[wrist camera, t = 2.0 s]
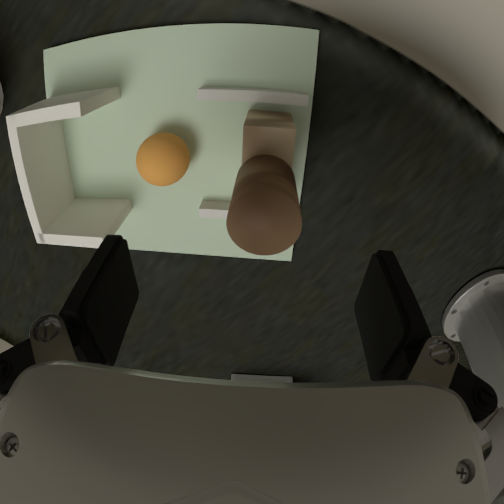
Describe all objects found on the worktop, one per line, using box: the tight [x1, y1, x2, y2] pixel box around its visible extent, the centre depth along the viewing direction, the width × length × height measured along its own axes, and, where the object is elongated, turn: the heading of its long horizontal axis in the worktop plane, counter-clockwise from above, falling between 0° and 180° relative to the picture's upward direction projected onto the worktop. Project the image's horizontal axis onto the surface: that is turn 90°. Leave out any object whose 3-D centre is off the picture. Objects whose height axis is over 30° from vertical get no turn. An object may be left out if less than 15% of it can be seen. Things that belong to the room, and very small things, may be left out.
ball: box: [136, 132, 190, 186], centre depth 22 cm, size 4×4×4 cm
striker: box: [226, 110, 302, 256], centre depth 19 cm, size 4×7×10 cm, turn 177°
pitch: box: [6, 23, 319, 261], centre depth 21 cm, size 22×20×7 cm
